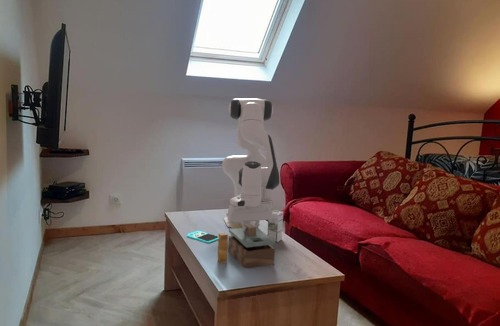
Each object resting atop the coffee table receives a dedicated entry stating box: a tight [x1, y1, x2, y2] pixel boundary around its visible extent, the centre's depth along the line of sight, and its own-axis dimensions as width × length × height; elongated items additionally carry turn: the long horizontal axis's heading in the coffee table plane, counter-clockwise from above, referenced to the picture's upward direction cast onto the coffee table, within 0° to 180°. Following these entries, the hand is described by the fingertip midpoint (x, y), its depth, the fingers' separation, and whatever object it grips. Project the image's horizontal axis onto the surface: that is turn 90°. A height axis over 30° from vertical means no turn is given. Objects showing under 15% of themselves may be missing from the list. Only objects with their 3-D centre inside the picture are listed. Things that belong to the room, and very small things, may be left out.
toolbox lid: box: [228, 224, 276, 248], centre depth 177 cm, size 20×13×5 cm, turn 24°
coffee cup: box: [230, 221, 250, 236], centre depth 199 cm, size 9×9×12 cm
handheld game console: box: [186, 230, 218, 244], centre depth 205 cm, size 10×16×1 cm, turn 55°
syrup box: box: [266, 209, 284, 243], centre depth 204 cm, size 6×6×14 cm
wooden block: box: [217, 232, 229, 264], centre depth 172 cm, size 3×3×13 cm
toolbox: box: [227, 235, 276, 269], centre depth 178 cm, size 20×13×8 cm, turn 24°
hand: (249, 230), depth 178 cm, fingers closed on toolbox lid, 3 cm apart
